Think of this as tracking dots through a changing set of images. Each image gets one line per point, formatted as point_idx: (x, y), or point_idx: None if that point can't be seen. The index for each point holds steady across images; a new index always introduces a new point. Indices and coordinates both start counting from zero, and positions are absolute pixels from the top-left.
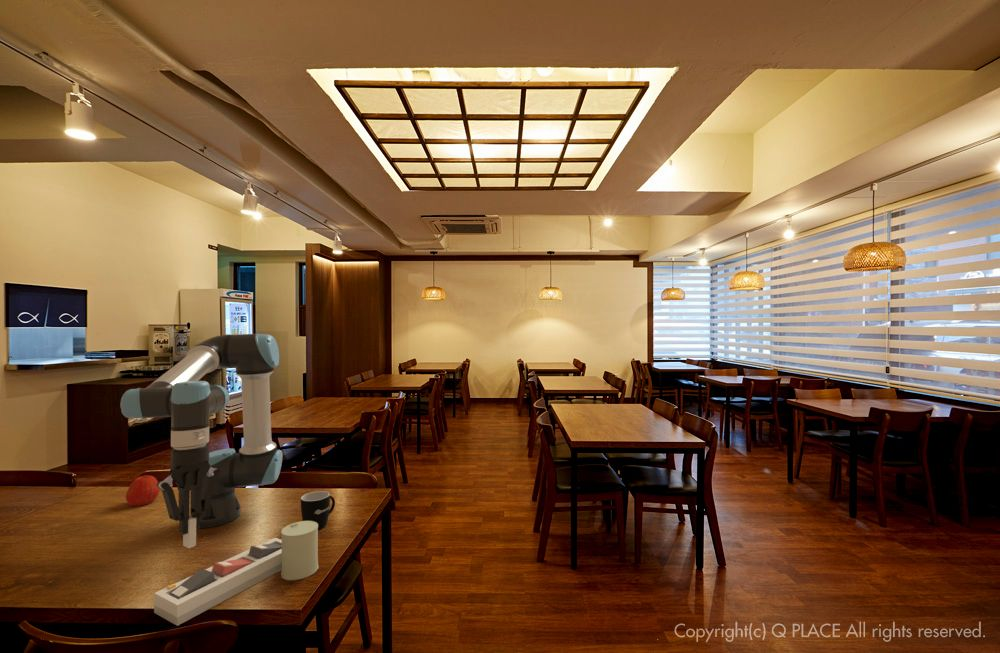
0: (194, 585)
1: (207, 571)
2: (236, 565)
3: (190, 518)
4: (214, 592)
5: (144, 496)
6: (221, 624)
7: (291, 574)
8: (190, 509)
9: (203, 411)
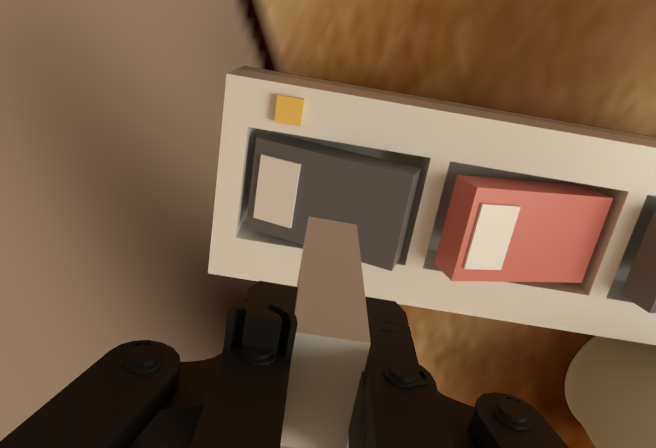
0: None
1: (396, 232)
2: (505, 281)
3: (312, 414)
4: None
5: None
6: None
7: (575, 409)
8: (372, 407)
9: None
